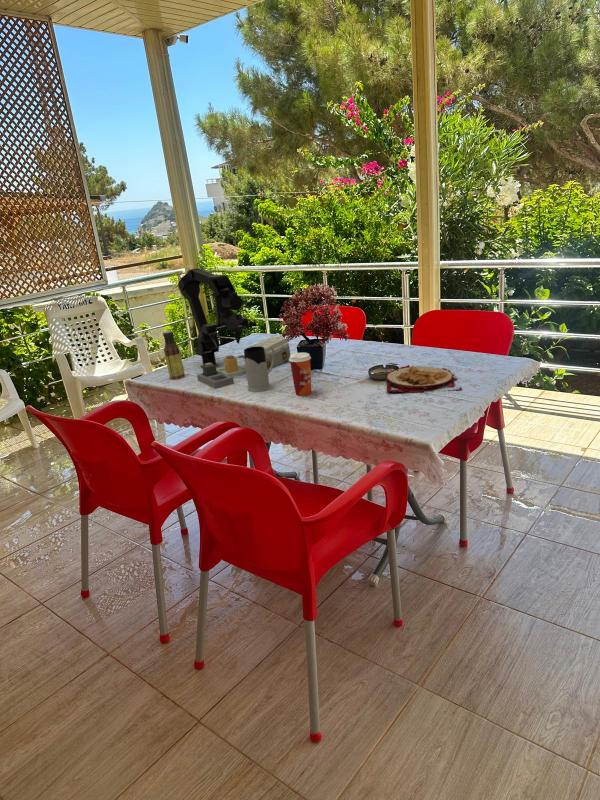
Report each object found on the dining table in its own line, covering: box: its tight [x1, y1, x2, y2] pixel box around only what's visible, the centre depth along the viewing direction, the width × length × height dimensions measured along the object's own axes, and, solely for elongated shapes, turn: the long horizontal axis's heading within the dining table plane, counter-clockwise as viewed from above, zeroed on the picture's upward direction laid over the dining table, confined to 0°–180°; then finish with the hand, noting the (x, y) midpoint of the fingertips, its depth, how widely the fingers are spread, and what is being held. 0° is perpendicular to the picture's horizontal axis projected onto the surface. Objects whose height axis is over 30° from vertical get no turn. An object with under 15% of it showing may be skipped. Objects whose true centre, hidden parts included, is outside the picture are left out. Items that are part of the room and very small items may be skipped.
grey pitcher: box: [243, 346, 274, 393], centre depth 206 cm, size 9×14×15 cm, turn 139°
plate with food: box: [385, 362, 462, 393], centre depth 196 cm, size 25×26×4 cm
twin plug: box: [201, 363, 217, 377], centre depth 220 cm, size 4×4×7 cm
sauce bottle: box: [162, 330, 185, 381], centre depth 227 cm, size 7×6×20 cm
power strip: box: [196, 370, 235, 390], centre depth 218 cm, size 16×8×3 cm, turn 35°
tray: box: [216, 363, 246, 377], centre depth 229 cm, size 11×11×2 cm
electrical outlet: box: [236, 335, 295, 370], centre depth 234 cm, size 12×28×10 cm, turn 141°
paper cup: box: [288, 352, 312, 397], centre depth 194 cm, size 8×8×14 cm
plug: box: [223, 354, 238, 373], centre depth 228 cm, size 4×4×7 cm
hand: (228, 345), depth 225 cm, fingers open, 9 cm apart
